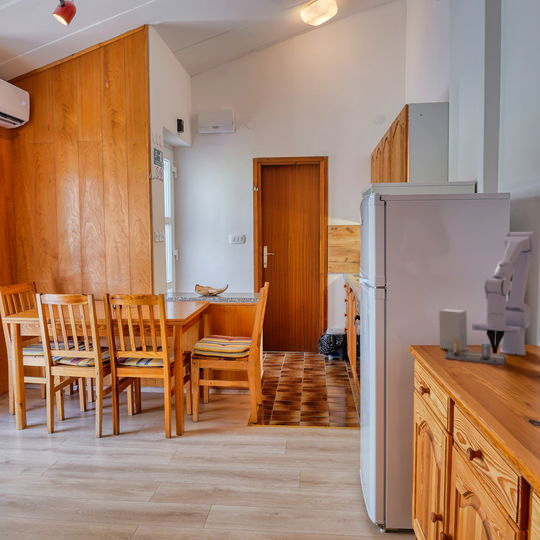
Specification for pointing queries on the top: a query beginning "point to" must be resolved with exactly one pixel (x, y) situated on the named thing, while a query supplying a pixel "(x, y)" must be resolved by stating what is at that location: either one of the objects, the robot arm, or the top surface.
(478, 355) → the bolt plate
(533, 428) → the top surface
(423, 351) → the top surface
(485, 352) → the sliding leg
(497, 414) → the top surface
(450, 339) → the skincare box
